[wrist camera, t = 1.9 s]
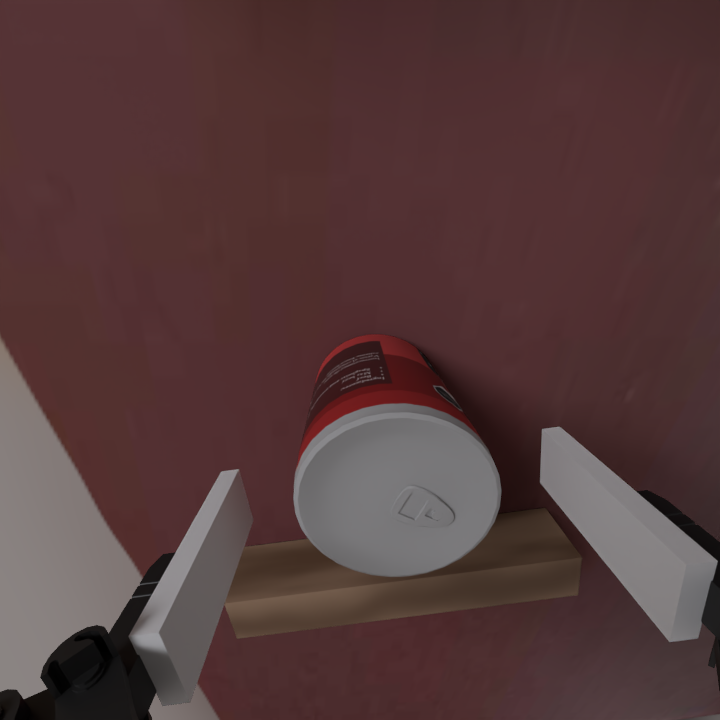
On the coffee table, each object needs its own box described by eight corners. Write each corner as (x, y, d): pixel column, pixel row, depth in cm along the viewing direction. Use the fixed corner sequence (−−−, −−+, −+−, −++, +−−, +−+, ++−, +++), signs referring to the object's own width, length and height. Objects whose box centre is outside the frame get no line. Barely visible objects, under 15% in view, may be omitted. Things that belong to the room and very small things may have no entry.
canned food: (419, 443, 25) (471, 589, 14) (308, 426, 24) (279, 568, 14) (447, 342, 22) (535, 430, 12) (325, 320, 22) (305, 395, 11)
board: (243, 547, 27) (224, 603, 23) (545, 507, 27) (582, 557, 23) (253, 579, 28) (237, 638, 24) (543, 541, 28) (577, 594, 24)
